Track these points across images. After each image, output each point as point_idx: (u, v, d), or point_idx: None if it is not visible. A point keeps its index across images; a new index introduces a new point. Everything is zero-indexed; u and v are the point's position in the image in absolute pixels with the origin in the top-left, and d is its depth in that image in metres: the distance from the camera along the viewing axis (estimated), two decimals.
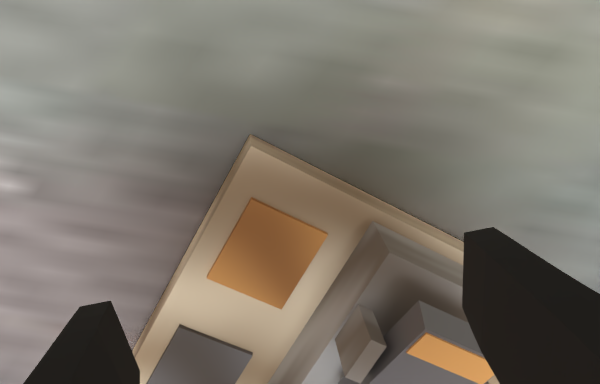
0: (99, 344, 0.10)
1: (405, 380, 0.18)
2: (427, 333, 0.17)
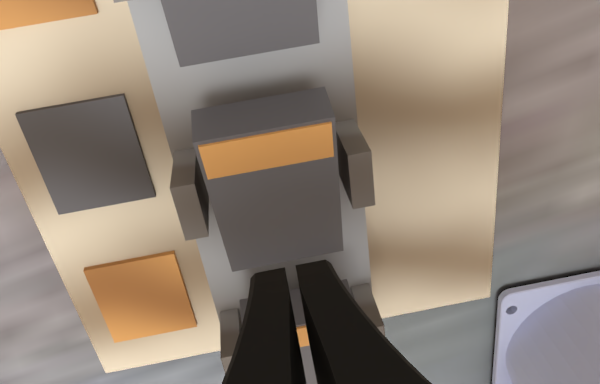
0: (290, 307, 0.10)
1: None
2: None
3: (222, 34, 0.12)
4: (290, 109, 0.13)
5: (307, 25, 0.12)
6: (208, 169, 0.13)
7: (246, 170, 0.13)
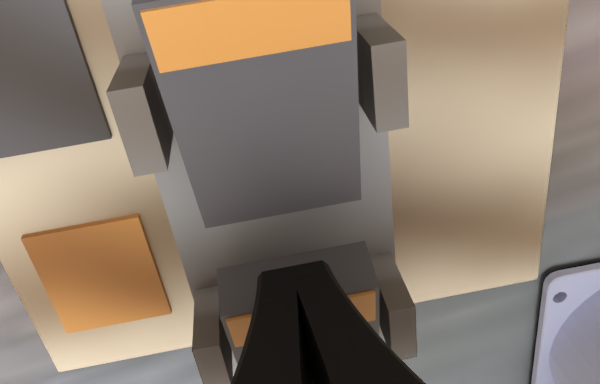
0: (298, 306, 0.10)
1: None
2: None
3: None
4: None
5: None
6: (160, 56, 0.08)
7: (218, 59, 0.09)
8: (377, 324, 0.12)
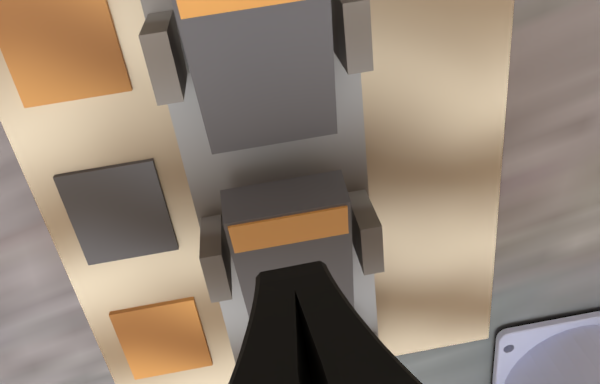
0: (297, 306, 0.10)
1: (231, 60, 0.12)
2: None
3: (251, 128, 0.14)
4: (310, 192, 0.14)
5: (327, 119, 0.14)
6: (235, 245, 0.14)
7: (269, 245, 0.14)
8: None
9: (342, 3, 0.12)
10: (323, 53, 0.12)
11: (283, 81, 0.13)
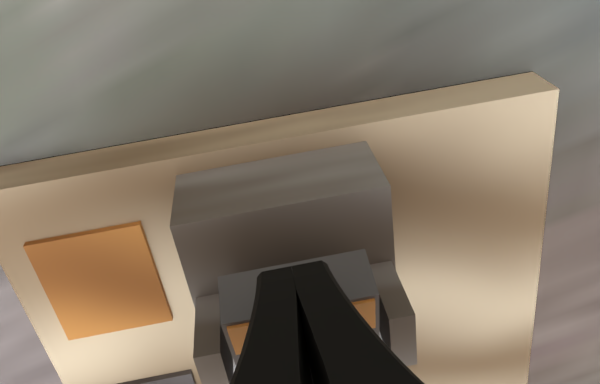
0: (298, 305, 0.10)
1: None
2: (228, 328, 0.11)
3: None
4: None
5: None
6: None
7: None
8: None
9: (388, 318, 0.12)
10: None
11: None
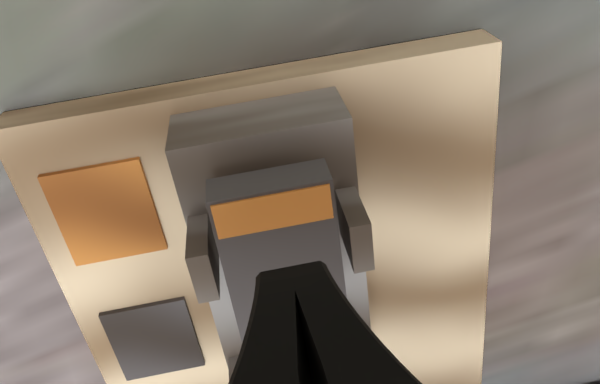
0: (297, 306, 0.10)
1: (258, 267, 0.15)
2: (211, 206, 0.14)
3: None
4: None
5: None
6: None
7: None
8: None
9: (349, 226, 0.15)
10: (333, 258, 0.15)
11: None
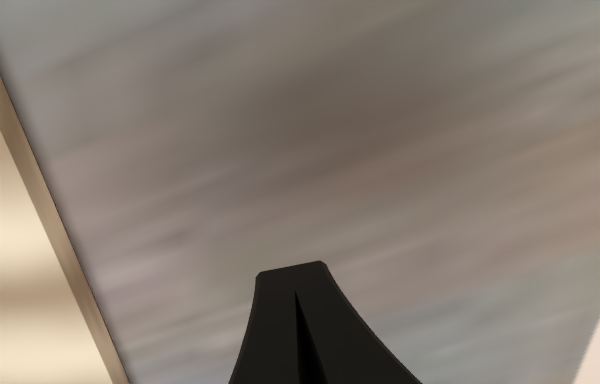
0: (297, 306, 0.10)
1: None
2: None
3: None
4: None
5: None
6: None
7: None
8: None
9: None
10: None
11: None
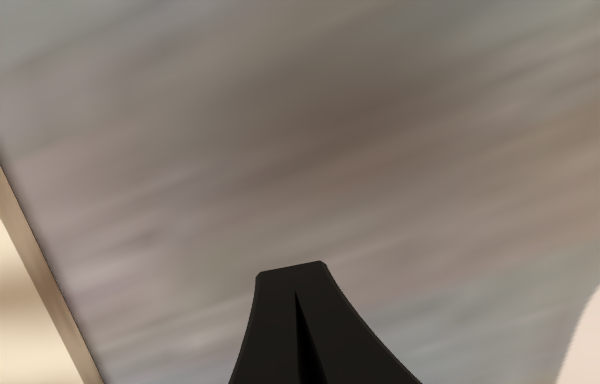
0: (296, 306, 0.10)
1: None
2: None
3: None
4: None
5: None
6: None
7: None
8: None
9: None
10: None
11: None
